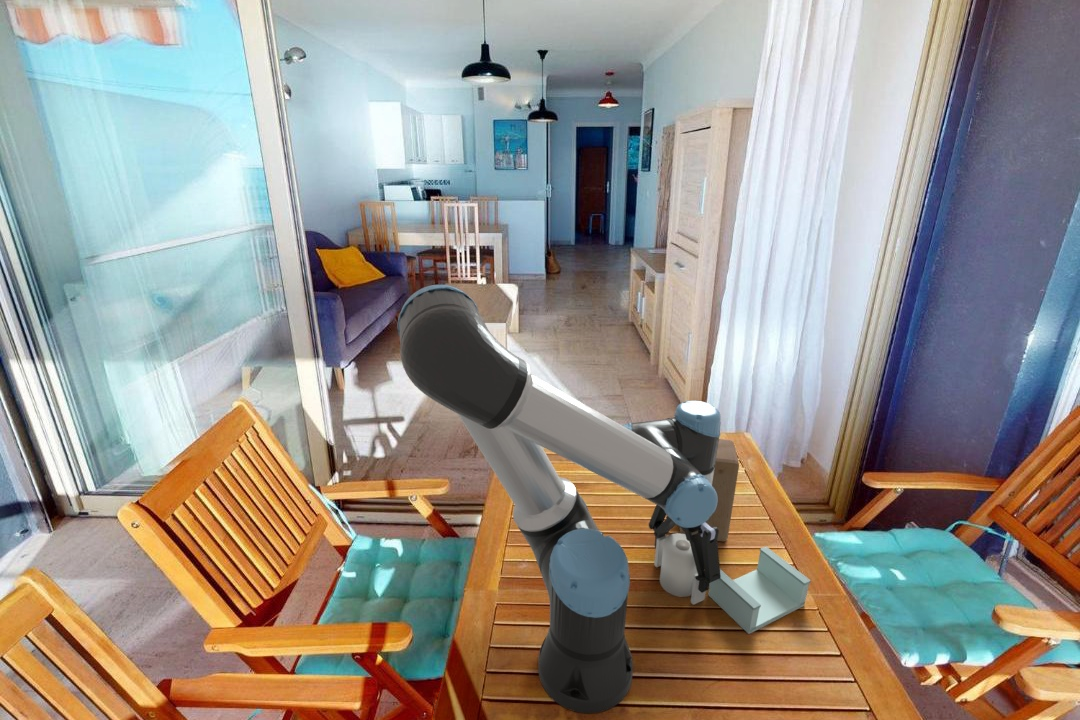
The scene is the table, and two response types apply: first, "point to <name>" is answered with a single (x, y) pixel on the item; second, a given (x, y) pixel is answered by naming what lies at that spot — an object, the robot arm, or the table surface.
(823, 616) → the table surface
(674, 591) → the roll
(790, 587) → the cradle
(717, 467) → the wooden block
